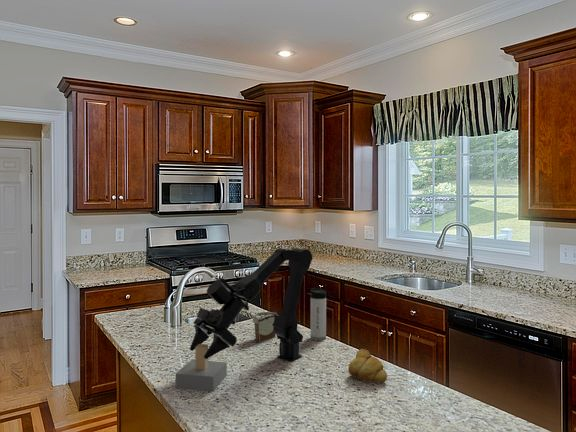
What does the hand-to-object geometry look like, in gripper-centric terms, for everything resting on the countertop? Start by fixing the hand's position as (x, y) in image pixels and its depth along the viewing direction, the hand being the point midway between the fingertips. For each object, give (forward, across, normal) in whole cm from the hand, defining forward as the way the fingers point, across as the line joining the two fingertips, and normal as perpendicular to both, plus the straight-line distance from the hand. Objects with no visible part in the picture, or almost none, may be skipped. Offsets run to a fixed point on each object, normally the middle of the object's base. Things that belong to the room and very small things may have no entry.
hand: (197, 354), depth 145 cm
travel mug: (-36, -10, +49) cm, 61 cm away
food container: (-22, -24, +36) cm, 48 cm away
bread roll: (-24, +30, +38) cm, 54 cm away
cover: (+5, 0, +7) cm, 9 cm away
